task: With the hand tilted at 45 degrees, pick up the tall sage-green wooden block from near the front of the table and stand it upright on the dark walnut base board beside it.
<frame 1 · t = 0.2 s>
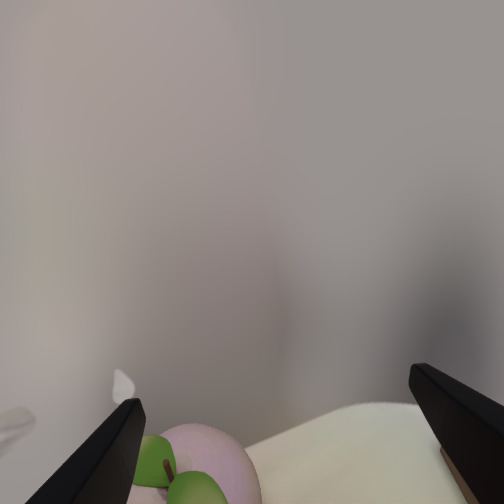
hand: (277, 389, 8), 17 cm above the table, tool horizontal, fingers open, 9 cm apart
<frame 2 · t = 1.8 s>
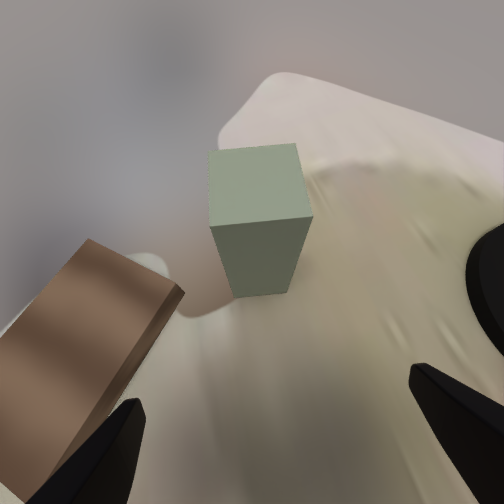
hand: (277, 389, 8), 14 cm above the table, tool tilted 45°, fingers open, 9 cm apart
sage-green block: (257, 271, 25), on the table
walnut base board: (88, 347, 22), on the table
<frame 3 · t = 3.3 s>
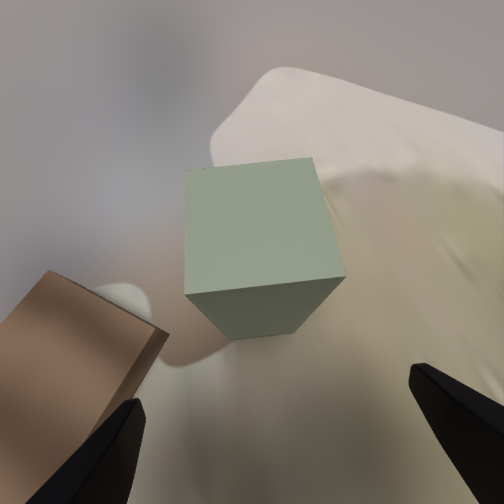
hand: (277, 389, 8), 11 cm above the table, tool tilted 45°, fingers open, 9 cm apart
sage-green block: (258, 305, 20), on the table
walnut base board: (48, 408, 18), on the table
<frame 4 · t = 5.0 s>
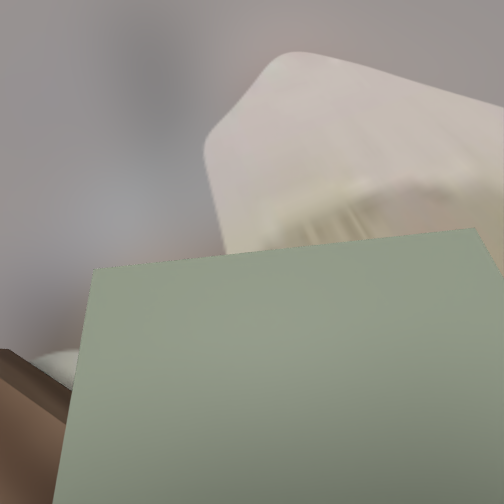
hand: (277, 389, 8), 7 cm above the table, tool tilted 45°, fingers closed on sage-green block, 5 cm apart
sage-green block: (270, 388, 14), on the table, touching gripper
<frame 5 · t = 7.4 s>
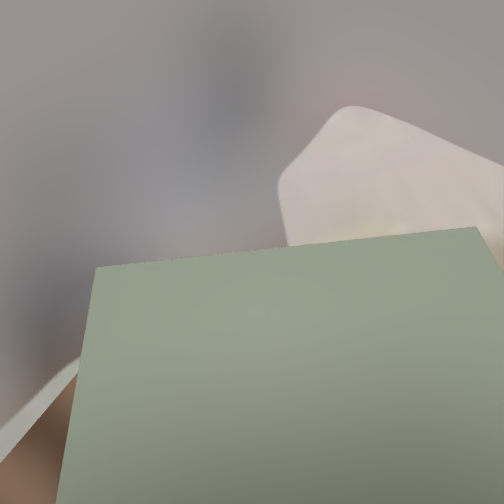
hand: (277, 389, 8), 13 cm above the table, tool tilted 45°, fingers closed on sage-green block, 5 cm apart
sage-green block: (270, 388, 14), point 7 cm above the table, touching gripper
walnut base board: (117, 448, 18), on the table
when the fingers open (10 cm above the table, at t = 9.5 s): sage-green block stays where it is, resting on walnut base board.
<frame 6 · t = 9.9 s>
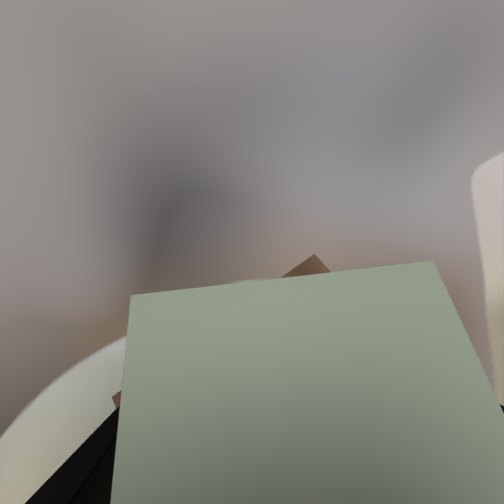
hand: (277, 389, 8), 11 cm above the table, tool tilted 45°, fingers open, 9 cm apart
sage-green block: (271, 388, 15), point 3 cm above the table, touching walnut base board
walnut base board: (267, 383, 18), on the table
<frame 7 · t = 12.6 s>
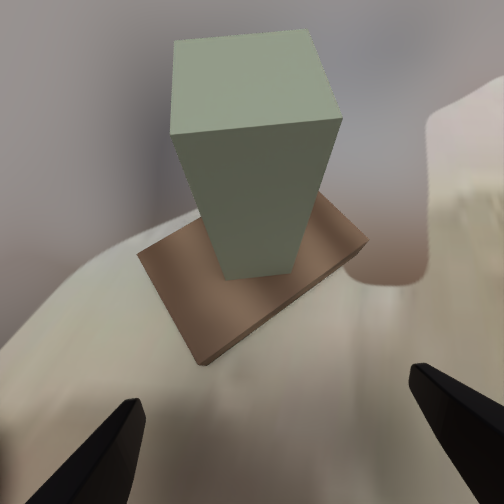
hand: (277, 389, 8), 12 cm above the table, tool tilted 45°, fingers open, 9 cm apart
sage-green block: (254, 247, 20), point 3 cm above the table, touching walnut base board
walnut base board: (253, 261, 23), on the table
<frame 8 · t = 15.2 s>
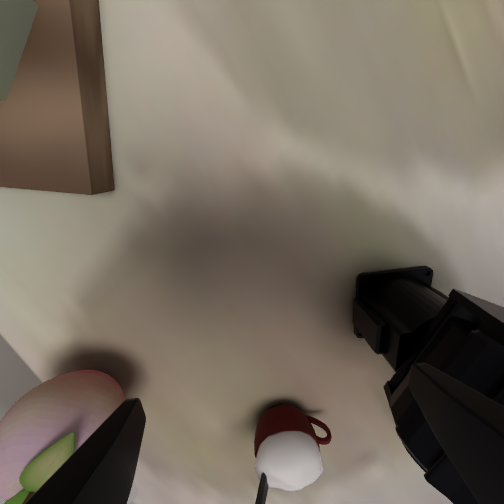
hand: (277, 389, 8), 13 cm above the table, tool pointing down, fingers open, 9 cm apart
decorative fruit: (99, 377, 24), on the table
cocoa: (278, 414, 27), on the table
walnut base board: (17, 47, 15), on the table
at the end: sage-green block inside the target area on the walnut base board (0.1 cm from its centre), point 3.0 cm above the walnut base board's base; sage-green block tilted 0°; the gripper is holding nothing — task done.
